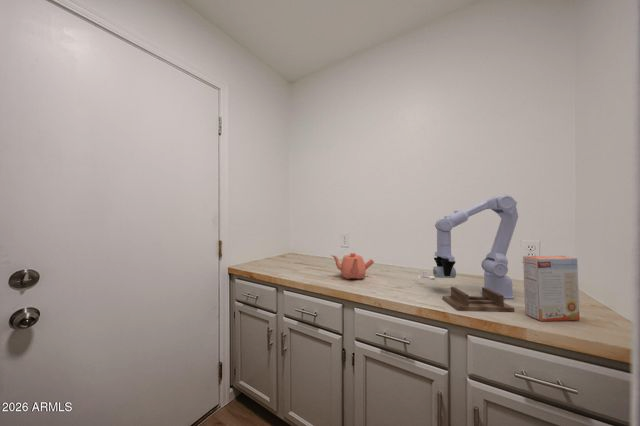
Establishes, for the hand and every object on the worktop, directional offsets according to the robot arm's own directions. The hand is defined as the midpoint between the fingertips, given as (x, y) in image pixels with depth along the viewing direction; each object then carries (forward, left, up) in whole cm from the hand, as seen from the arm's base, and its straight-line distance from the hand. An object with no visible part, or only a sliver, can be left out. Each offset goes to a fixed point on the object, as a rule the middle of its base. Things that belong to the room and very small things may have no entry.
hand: (444, 274), depth 106 cm
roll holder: (-5, +15, -8) cm, 18 cm away
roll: (0, 0, -2) cm, 2 cm away
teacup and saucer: (-1, -23, -9) cm, 24 cm away
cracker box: (-24, +25, -8) cm, 36 cm away
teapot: (+40, -24, -8) cm, 47 cm away
